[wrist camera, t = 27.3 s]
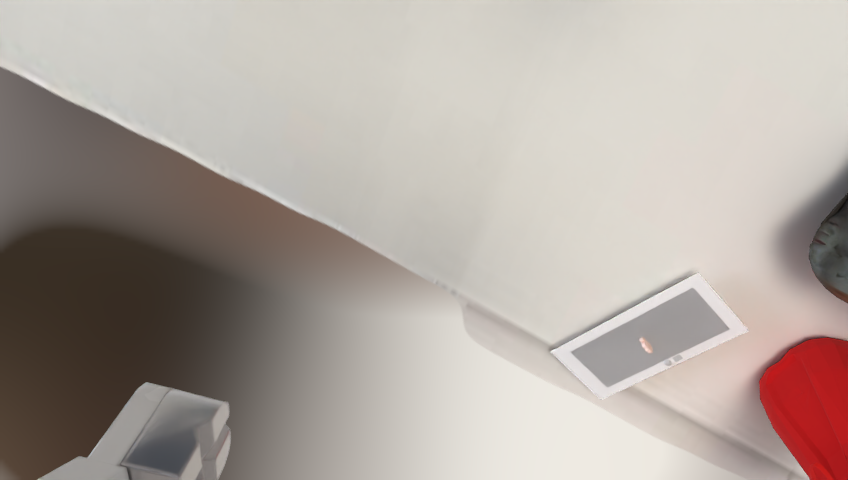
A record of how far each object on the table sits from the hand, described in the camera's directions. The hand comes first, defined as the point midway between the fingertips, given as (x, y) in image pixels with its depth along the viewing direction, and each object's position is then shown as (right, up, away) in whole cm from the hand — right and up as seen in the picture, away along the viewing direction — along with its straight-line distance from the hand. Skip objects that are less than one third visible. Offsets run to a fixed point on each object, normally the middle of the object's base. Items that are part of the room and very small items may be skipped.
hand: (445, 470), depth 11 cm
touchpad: (+20, -4, +45) cm, 49 cm away
